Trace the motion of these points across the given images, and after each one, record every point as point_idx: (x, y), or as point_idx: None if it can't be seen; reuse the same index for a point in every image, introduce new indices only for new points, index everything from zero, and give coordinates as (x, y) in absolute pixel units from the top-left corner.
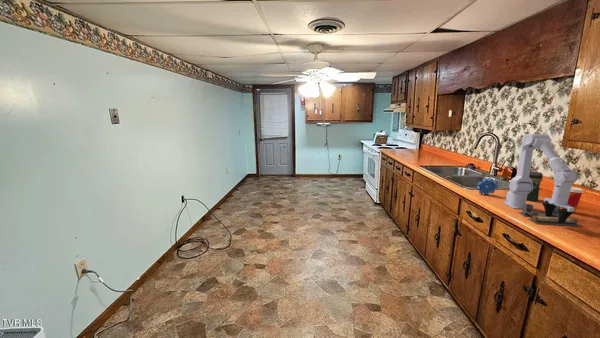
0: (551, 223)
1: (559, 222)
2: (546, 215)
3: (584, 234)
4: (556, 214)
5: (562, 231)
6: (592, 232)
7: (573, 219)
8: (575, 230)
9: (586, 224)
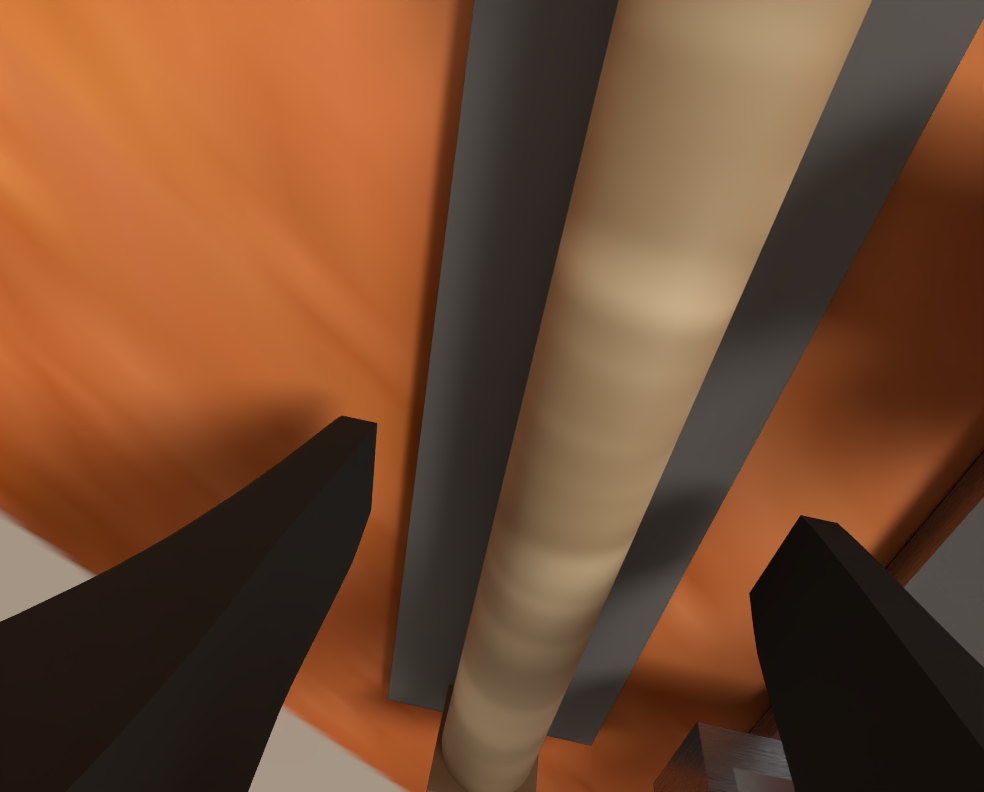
0: (486, 312)
1: (334, 422)
2: (816, 536)
3: (41, 456)
4: (767, 764)
5: (25, 126)
6: None
7: (459, 767)
8: (200, 480)
9: None
